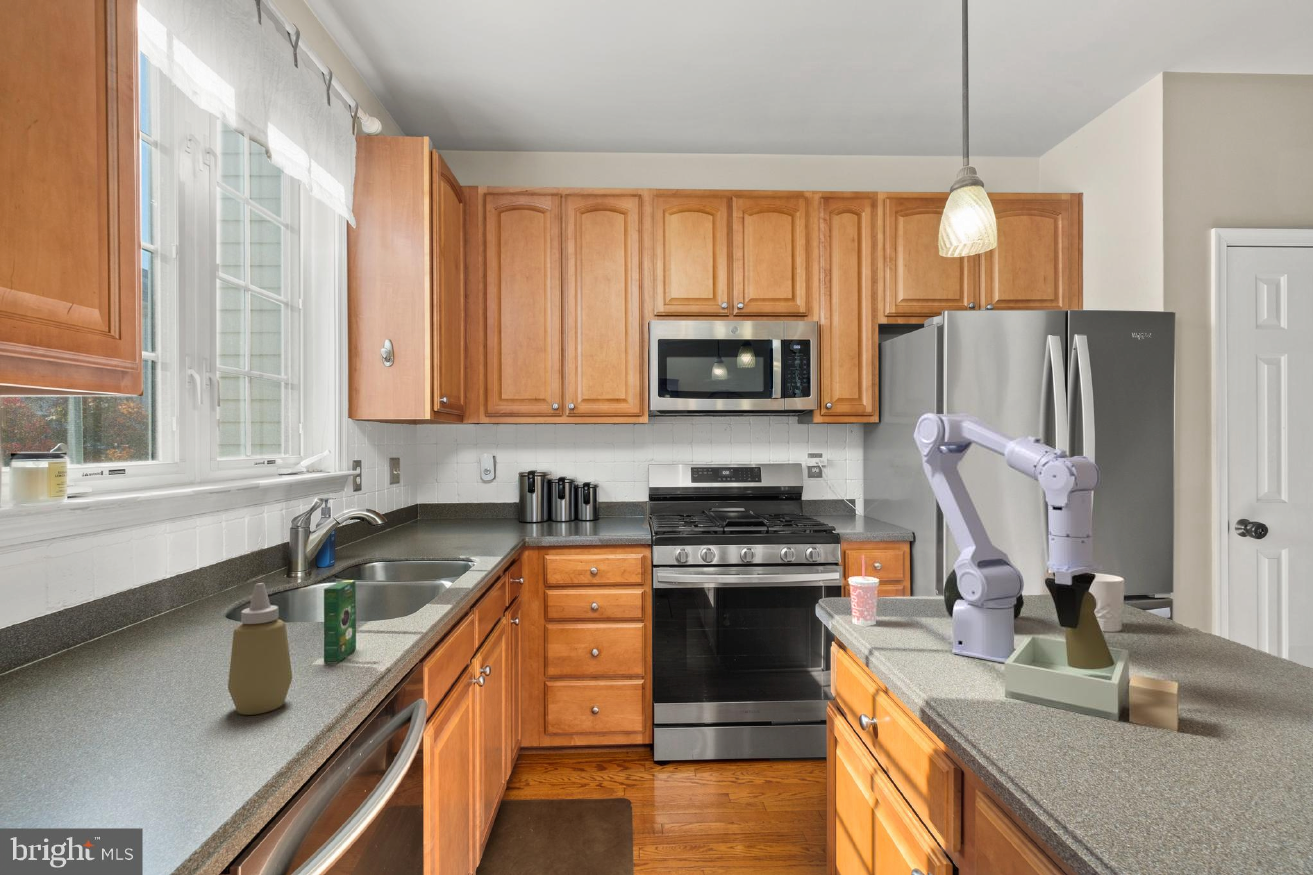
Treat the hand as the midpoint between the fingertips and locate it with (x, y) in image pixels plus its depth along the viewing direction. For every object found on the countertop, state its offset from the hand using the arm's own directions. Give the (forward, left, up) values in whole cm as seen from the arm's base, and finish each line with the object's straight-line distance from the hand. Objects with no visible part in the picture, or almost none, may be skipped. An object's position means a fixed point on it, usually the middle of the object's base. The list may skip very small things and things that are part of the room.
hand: (1071, 623), depth 102 cm
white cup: (0, +38, -9) cm, 39 cm away
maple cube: (+10, -9, -9) cm, 17 cm away
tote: (0, -3, -9) cm, 10 cm away
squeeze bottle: (-90, -82, -9) cm, 122 cm away
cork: (+2, 0, -6) cm, 7 cm away
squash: (-19, +27, -10) cm, 34 cm away
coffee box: (-104, -64, -10) cm, 122 cm away
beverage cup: (-38, +13, -9) cm, 42 cm away
